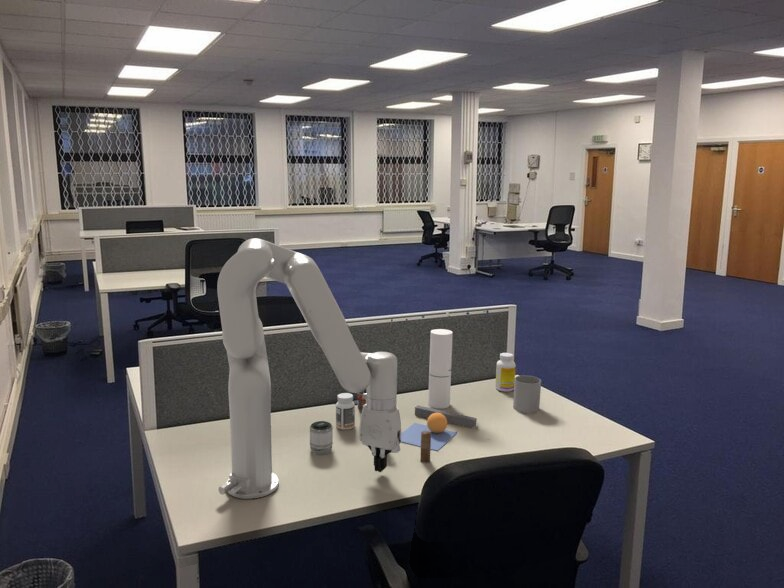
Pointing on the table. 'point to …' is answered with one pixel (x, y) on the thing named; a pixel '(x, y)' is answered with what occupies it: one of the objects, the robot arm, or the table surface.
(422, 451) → the right post
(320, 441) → the camera lens
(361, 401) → the supplement bottle
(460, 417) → the wall
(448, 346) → the cylindrical container
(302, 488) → the table surface
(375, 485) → the table surface
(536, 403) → the cup
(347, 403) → the pill bottle
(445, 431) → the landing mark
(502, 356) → the supplement bottle
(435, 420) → the ball
